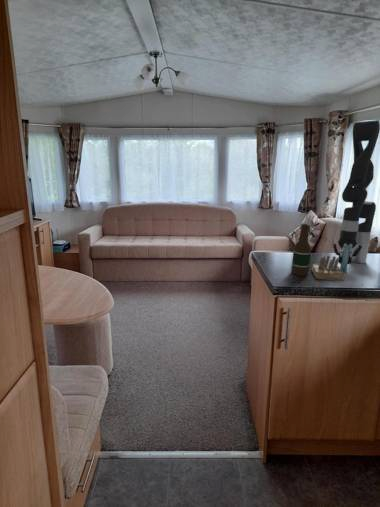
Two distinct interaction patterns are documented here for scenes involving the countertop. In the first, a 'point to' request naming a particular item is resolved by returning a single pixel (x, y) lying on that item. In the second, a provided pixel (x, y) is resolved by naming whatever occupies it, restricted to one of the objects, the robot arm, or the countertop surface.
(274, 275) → the countertop surface
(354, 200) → the robot arm
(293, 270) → the beer bottle
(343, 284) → the countertop surface
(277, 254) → the countertop surface
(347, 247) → the peg
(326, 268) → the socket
